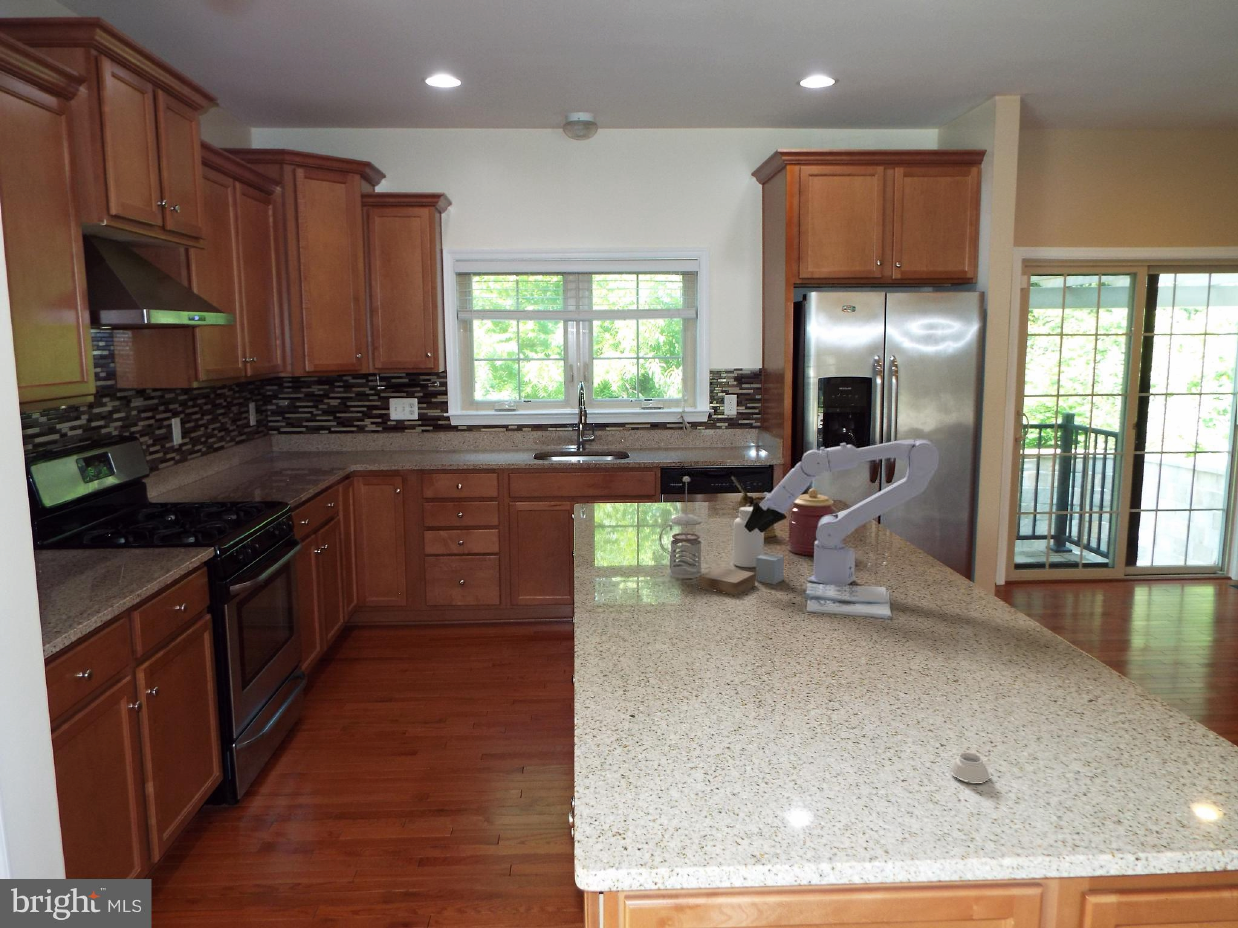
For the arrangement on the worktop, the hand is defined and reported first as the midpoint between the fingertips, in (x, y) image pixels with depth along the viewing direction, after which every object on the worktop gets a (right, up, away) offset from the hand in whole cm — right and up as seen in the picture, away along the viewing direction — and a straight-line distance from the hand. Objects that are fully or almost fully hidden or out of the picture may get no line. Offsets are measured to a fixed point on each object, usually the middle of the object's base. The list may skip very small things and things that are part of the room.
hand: (753, 529), depth 216 cm
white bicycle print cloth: (+18, -16, -20) cm, 31 cm away
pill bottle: (0, -10, +12) cm, 15 cm away
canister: (+20, -8, +26) cm, 34 cm away
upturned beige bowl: (+15, -27, -97) cm, 101 cm away
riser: (-8, -13, -8) cm, 17 cm away
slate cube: (+4, -12, -3) cm, 13 cm away
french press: (-18, -12, +4) cm, 21 cm away
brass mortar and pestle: (+7, -5, +45) cm, 45 cm away
